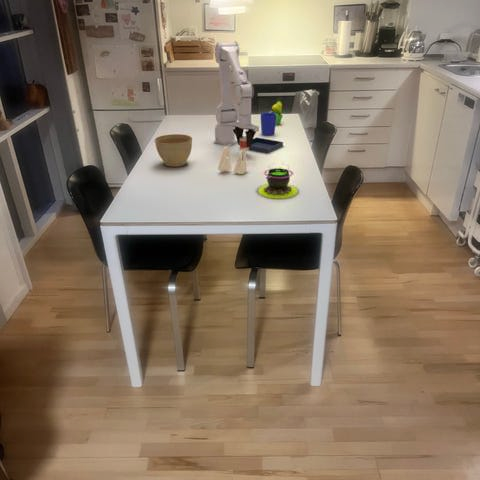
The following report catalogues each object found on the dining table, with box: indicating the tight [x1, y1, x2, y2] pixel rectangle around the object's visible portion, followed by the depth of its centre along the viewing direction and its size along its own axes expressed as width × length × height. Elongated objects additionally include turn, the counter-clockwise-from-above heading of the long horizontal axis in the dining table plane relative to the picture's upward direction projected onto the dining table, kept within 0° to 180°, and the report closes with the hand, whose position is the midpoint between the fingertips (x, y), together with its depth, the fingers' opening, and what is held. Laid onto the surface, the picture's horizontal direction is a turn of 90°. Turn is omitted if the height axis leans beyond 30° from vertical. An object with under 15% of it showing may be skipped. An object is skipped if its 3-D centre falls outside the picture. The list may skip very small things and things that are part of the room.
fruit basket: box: [263, 100, 283, 126], centre depth 267 cm, size 11×9×11 cm
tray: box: [248, 137, 284, 154], centre depth 230 cm, size 15×14×2 cm
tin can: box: [239, 135, 250, 151], centre depth 217 cm, size 5×5×5 cm
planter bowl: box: [154, 133, 193, 168], centre depth 208 cm, size 16×16×11 cm
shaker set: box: [217, 145, 248, 175], centre depth 198 cm, size 12×4×11 cm, turn 81°
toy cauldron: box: [258, 162, 298, 200], centre depth 180 cm, size 15×15×11 cm
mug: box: [260, 112, 277, 137], centre depth 249 cm, size 8×12×10 cm
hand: (244, 145), depth 218 cm, fingers closed on tin can, 5 cm apart
